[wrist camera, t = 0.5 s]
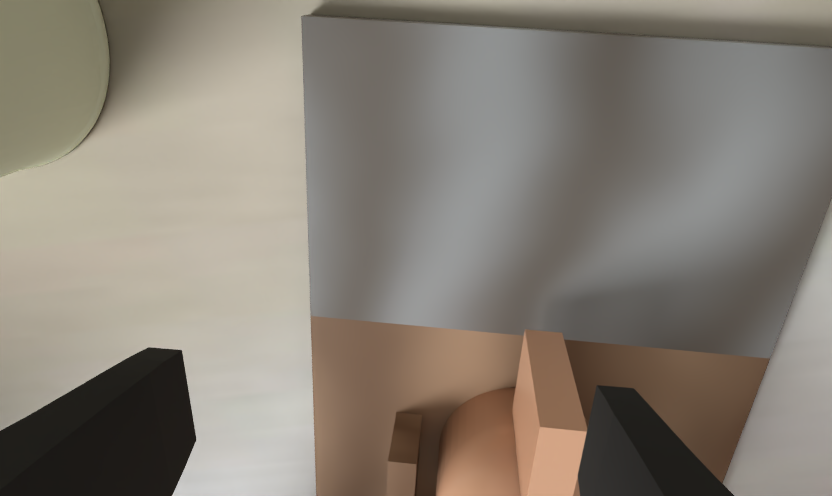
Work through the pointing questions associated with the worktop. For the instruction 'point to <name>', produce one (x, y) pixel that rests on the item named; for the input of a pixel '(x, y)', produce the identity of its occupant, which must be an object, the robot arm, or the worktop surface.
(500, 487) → the capsule with rectangular tab
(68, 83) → the can
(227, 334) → the worktop surface
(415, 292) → the cradle
